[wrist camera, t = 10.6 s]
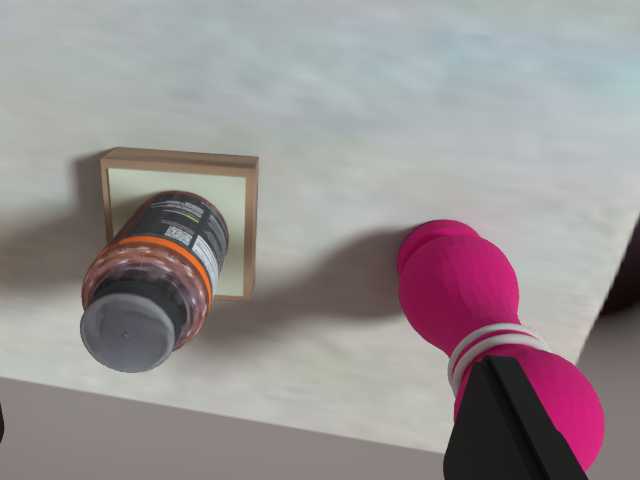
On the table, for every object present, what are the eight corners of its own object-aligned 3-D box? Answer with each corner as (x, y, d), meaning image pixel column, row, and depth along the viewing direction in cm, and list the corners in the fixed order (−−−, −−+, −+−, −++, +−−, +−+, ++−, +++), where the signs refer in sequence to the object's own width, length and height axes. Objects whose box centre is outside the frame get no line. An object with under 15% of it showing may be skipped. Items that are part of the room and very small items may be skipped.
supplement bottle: (141, 277, 34) (67, 395, 23) (126, 188, 31) (36, 274, 21) (235, 275, 34) (203, 391, 23) (227, 185, 31) (187, 270, 21)
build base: (117, 147, 34) (98, 159, 31) (258, 156, 34) (254, 170, 31) (126, 273, 37) (110, 295, 34) (254, 280, 37) (250, 303, 35)
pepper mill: (387, 305, 39) (459, 570, 20) (391, 212, 36) (480, 421, 17) (485, 303, 39) (647, 565, 20) (497, 211, 36) (697, 416, 17)
